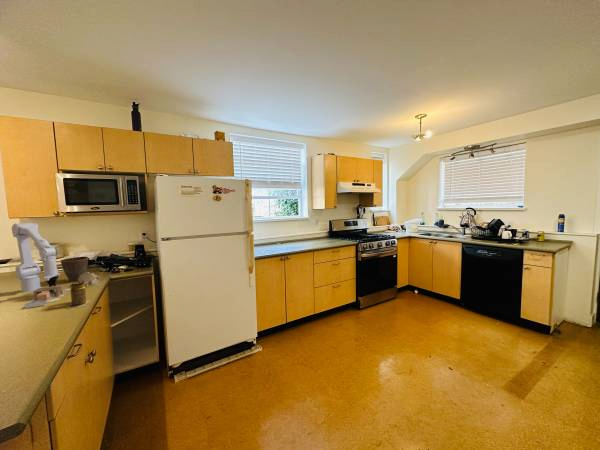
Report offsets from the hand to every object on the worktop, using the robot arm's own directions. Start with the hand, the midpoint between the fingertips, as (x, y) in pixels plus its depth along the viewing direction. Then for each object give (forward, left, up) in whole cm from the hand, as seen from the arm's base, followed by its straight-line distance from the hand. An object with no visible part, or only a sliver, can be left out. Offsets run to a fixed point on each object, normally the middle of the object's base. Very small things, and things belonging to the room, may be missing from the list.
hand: (52, 289), depth 152 cm
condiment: (+27, +19, -4) cm, 33 cm away
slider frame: (+12, 0, -3) cm, 12 cm away
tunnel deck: (+6, 0, -4) cm, 7 cm away
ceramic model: (-10, +15, -4) cm, 18 cm away
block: (+12, 0, -3) cm, 13 cm away
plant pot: (-31, +3, -4) cm, 32 cm away
